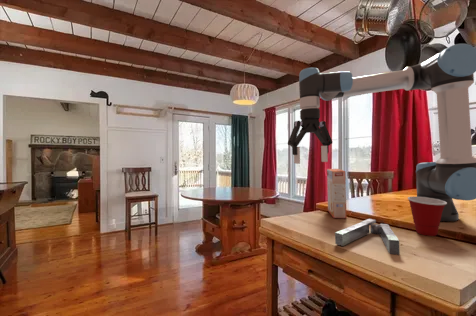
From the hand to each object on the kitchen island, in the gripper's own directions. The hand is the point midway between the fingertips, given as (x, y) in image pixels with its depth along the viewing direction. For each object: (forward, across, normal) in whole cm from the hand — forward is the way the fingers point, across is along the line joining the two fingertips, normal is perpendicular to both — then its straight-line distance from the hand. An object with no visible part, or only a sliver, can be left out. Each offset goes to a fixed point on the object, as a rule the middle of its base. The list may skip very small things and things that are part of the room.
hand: (311, 162), depth 97 cm
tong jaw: (+25, -4, +18) cm, 31 cm away
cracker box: (+26, -20, -8) cm, 34 cm away
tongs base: (+25, -8, +24) cm, 36 cm away
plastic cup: (+25, -28, +26) cm, 46 cm away
